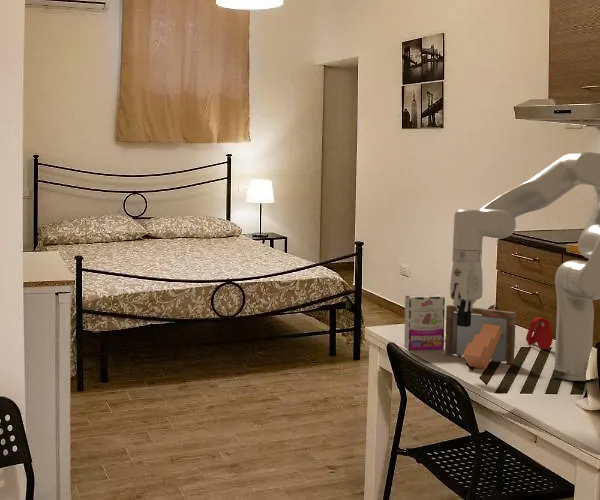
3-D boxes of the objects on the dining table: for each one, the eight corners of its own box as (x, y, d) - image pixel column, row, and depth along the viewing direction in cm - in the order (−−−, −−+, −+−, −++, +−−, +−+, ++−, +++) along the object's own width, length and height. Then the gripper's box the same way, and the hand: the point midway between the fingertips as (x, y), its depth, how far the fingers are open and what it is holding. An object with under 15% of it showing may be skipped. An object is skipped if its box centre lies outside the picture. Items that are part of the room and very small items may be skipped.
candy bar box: (438, 348, 256) (439, 294, 254) (444, 351, 251) (445, 296, 250) (403, 348, 254) (404, 294, 252) (408, 352, 249) (409, 297, 247)
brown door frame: (513, 363, 234) (515, 312, 233) (510, 364, 233) (512, 313, 232) (448, 353, 247) (449, 304, 246) (444, 354, 246) (446, 305, 244)
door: (507, 361, 236) (508, 318, 235) (502, 362, 233) (504, 319, 232) (453, 353, 246) (455, 312, 245) (449, 354, 244) (450, 313, 243)
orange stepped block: (502, 331, 233) (496, 319, 230) (486, 369, 227) (479, 357, 224) (486, 329, 236) (480, 316, 233) (469, 366, 230) (462, 354, 227)
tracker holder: (555, 352, 252) (556, 319, 251) (542, 353, 251) (543, 320, 250) (533, 345, 264) (534, 313, 263) (520, 345, 262) (521, 313, 262)
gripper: (466, 259, 212) (463, 331, 213) (492, 256, 223) (489, 324, 225) (440, 256, 216) (437, 327, 218) (467, 254, 228) (464, 321, 229)
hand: (463, 325), depth 221 cm, fingers closed
